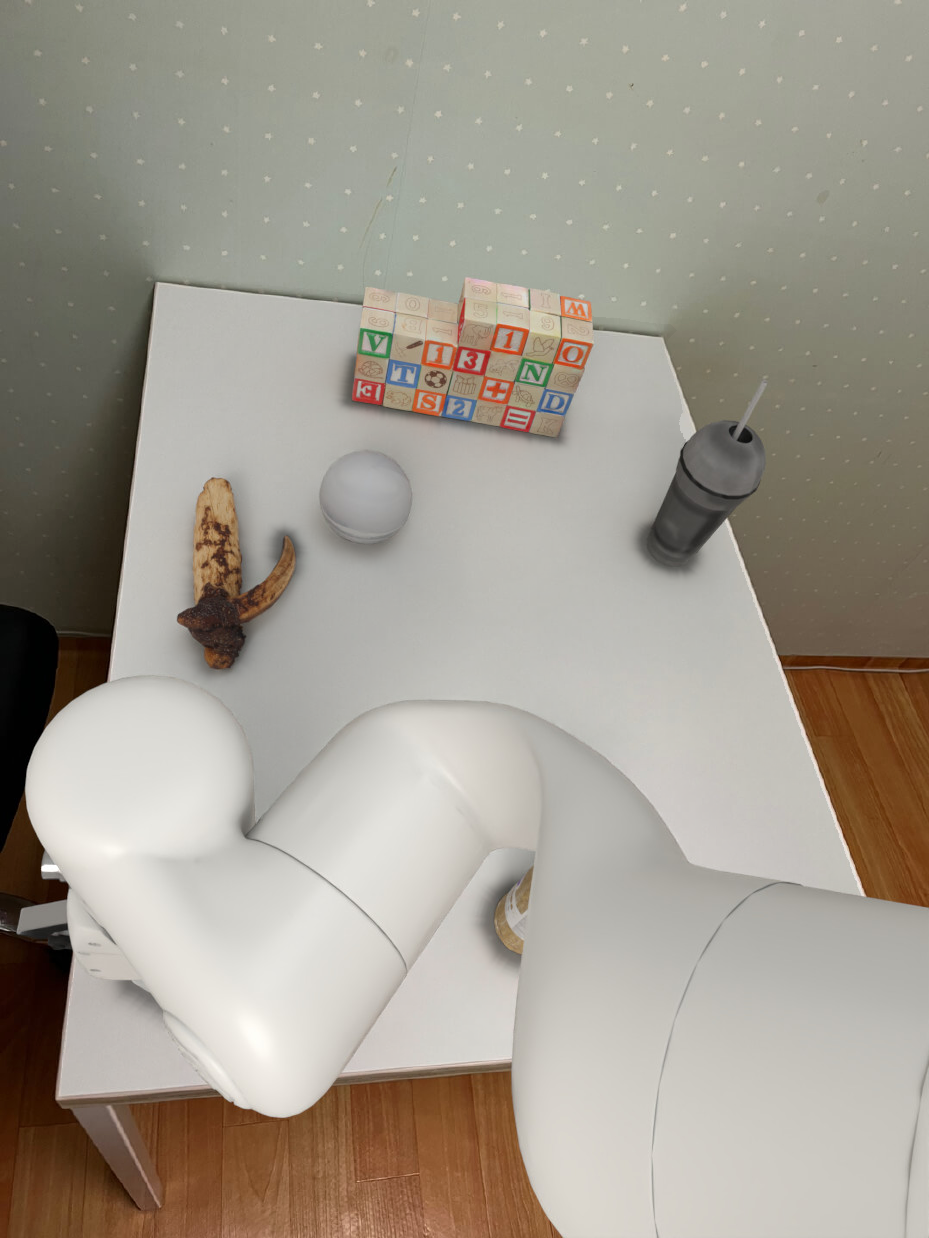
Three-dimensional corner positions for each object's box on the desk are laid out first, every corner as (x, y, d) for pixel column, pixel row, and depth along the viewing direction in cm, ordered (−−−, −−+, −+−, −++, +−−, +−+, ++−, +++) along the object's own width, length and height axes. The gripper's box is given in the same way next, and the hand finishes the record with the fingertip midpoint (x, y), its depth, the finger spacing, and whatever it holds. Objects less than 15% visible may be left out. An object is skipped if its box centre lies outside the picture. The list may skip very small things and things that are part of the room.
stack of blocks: (349, 403, 86) (360, 299, 76) (356, 361, 89) (368, 255, 79) (558, 438, 89) (595, 342, 79) (557, 396, 92) (592, 299, 82)
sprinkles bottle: (508, 879, 63) (559, 815, 52) (564, 910, 62) (628, 852, 51) (481, 936, 60) (529, 882, 49) (539, 969, 60) (601, 922, 49)
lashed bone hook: (300, 675, 69) (291, 497, 78) (305, 646, 65) (294, 463, 74) (178, 678, 67) (182, 494, 76) (175, 648, 63) (179, 458, 72)
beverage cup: (635, 572, 81) (729, 417, 64) (630, 513, 85) (717, 352, 68) (709, 583, 82) (819, 433, 65) (700, 524, 86) (802, 368, 69)
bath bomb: (369, 479, 81) (379, 417, 74) (424, 537, 78) (438, 478, 72) (299, 515, 77) (301, 453, 71) (353, 577, 75) (361, 518, 68)
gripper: (-63, 958, 35) (32, 1022, 50) (364, 948, 39) (338, 1011, 53) (-20, 784, 39) (57, 890, 54) (364, 789, 43) (340, 887, 57)
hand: (196, 950), depth 53 cm, fingers open, 8 cm apart
